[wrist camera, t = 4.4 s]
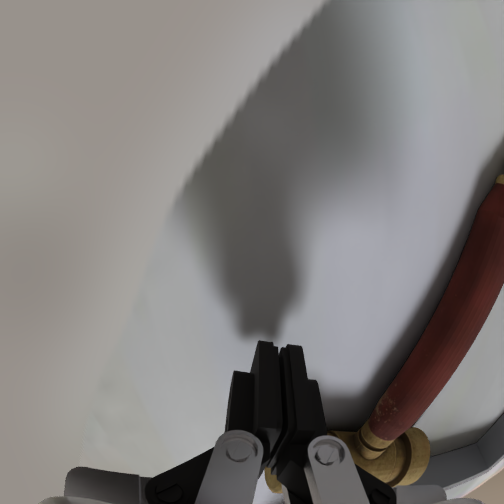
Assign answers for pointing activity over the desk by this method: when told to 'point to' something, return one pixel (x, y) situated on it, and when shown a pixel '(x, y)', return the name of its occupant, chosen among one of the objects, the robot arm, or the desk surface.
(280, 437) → the robot arm
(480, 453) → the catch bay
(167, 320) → the desk surface
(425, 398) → the gavel
